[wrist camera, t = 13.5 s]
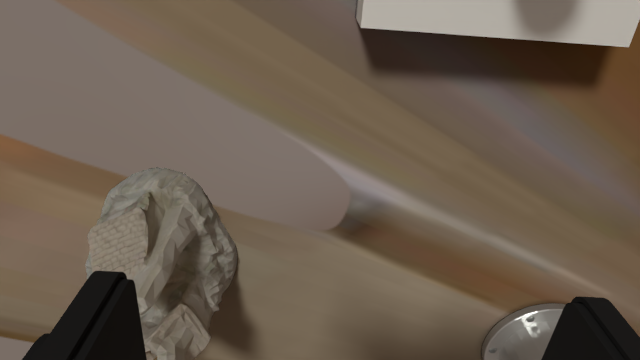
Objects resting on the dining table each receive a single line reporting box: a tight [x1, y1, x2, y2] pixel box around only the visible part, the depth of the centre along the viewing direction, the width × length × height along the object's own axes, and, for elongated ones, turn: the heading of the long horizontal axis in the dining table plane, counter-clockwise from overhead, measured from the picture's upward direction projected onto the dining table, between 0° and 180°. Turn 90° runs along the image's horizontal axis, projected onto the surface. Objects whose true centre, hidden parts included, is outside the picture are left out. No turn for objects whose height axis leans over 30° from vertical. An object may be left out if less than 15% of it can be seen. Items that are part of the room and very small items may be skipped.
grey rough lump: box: [85, 167, 237, 360], centre depth 38 cm, size 16×16×15 cm
